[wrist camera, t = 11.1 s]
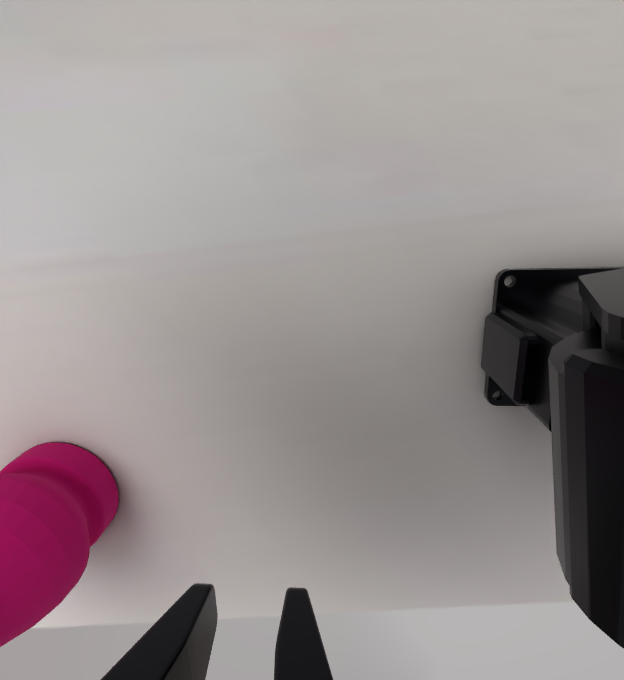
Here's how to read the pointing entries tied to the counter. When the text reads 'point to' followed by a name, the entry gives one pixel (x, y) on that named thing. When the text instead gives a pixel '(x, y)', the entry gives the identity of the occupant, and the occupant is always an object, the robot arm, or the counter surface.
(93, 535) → the pepper mill
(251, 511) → the counter surface
